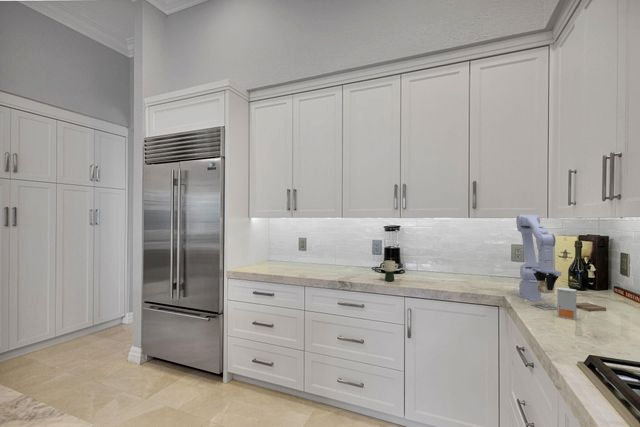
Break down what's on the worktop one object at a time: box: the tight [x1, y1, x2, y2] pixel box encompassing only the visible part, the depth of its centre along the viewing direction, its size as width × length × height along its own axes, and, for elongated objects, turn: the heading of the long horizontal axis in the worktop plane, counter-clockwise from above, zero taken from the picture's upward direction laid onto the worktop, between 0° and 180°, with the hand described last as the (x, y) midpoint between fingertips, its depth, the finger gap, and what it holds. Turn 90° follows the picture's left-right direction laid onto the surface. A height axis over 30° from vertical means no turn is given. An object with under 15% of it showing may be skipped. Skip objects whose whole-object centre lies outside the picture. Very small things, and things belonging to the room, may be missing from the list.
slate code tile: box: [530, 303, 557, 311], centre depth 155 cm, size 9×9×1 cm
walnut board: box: [576, 302, 607, 313], centre depth 154 cm, size 9×9×2 cm
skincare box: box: [556, 287, 577, 320], centre depth 140 cm, size 6×4×12 cm
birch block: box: [538, 280, 555, 294], centre depth 156 cm, size 4×5×5 cm
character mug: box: [381, 260, 399, 282], centre depth 221 cm, size 11×7×13 cm, turn 91°
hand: (545, 289), depth 156 cm, fingers closed on birch block, 4 cm apart
